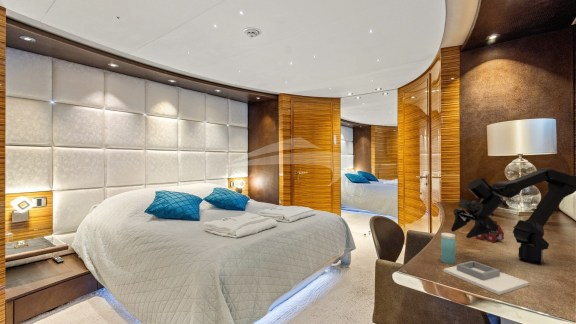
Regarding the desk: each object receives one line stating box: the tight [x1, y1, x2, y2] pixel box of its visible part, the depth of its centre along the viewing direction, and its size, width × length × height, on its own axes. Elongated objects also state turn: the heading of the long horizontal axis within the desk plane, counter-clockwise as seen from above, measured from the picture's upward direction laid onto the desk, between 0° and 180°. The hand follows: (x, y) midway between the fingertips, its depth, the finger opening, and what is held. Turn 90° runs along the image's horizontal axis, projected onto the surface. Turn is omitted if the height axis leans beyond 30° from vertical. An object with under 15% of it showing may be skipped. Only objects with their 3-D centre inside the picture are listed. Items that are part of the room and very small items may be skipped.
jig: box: [443, 260, 530, 296], centre depth 90 cm, size 16×18×3 cm
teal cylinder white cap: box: [440, 232, 456, 265], centre depth 105 cm, size 5×5×11 cm
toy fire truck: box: [474, 220, 505, 243], centre depth 133 cm, size 7×12×10 cm, turn 30°
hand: (459, 234), depth 105 cm, fingers open, 9 cm apart
